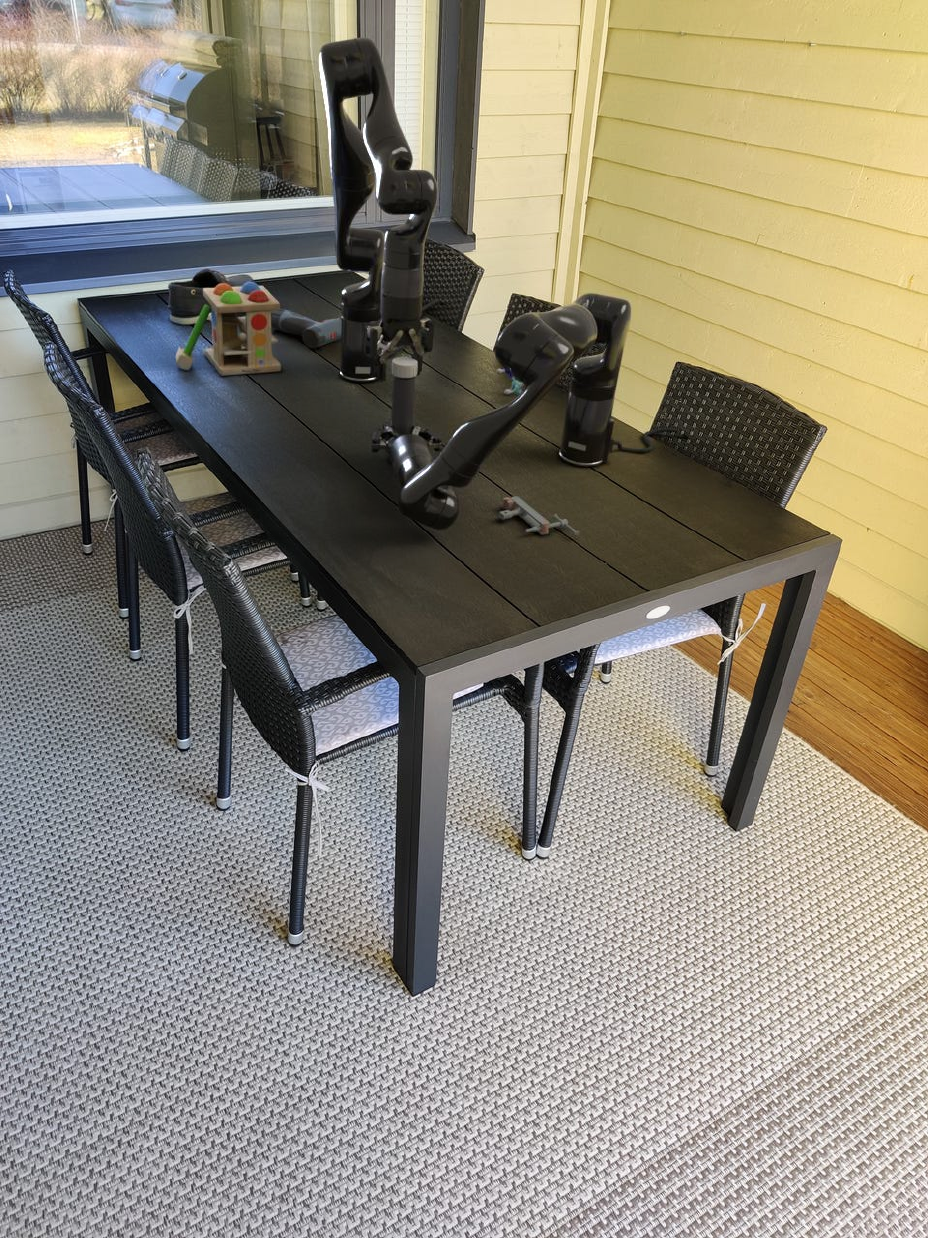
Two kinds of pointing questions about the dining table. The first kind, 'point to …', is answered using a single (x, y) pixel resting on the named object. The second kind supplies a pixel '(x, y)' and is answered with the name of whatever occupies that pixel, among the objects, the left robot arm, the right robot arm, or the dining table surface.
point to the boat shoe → (197, 294)
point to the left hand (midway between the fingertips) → (397, 377)
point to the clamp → (530, 516)
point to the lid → (404, 367)
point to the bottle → (402, 405)
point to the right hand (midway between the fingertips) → (399, 424)
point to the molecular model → (515, 384)
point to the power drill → (307, 327)
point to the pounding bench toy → (229, 347)
